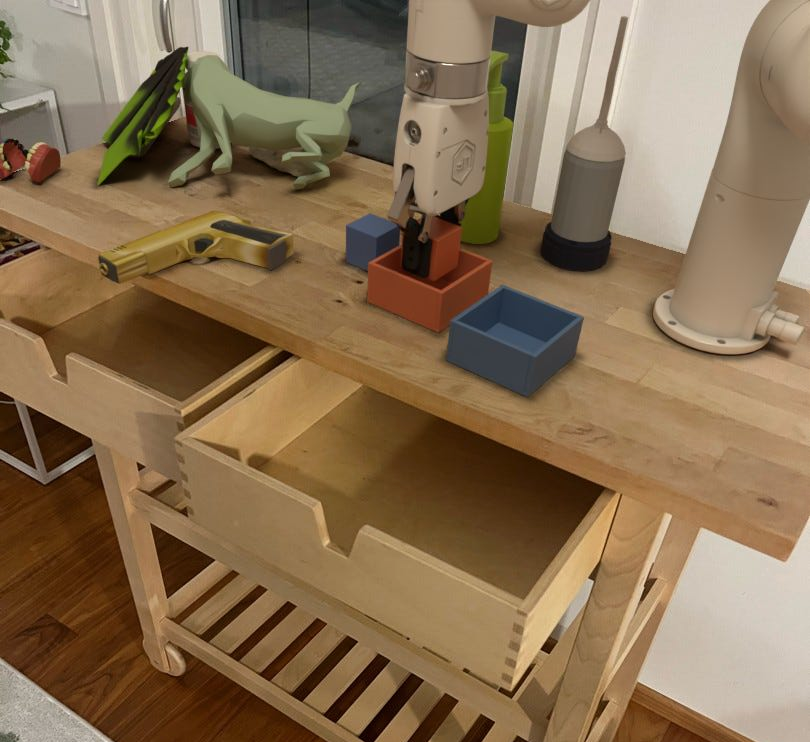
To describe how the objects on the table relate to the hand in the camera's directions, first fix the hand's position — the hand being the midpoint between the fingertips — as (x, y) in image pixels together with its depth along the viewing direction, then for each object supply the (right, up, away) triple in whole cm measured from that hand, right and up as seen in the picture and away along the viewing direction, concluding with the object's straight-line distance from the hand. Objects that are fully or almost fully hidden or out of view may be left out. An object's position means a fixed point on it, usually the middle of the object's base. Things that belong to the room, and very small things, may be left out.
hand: (429, 262), depth 87 cm
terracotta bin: (0, -3, +3) cm, 4 cm away
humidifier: (+18, +5, +13) cm, 23 cm away
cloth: (-37, +27, +21) cm, 50 cm away
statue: (-20, +16, +20) cm, 32 cm away
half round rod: (-39, +31, +31) cm, 59 cm away
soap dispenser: (+6, +8, +15) cm, 18 cm away
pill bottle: (-30, +27, +31) cm, 51 cm away
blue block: (-6, +3, +9) cm, 11 cm away
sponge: (-19, +23, +27) cm, 40 cm away
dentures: (-47, +19, +18) cm, 54 cm away
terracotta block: (0, 0, 0) cm, 1 cm away
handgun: (-21, -1, +2) cm, 21 cm away
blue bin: (+8, -11, -4) cm, 14 cm away
